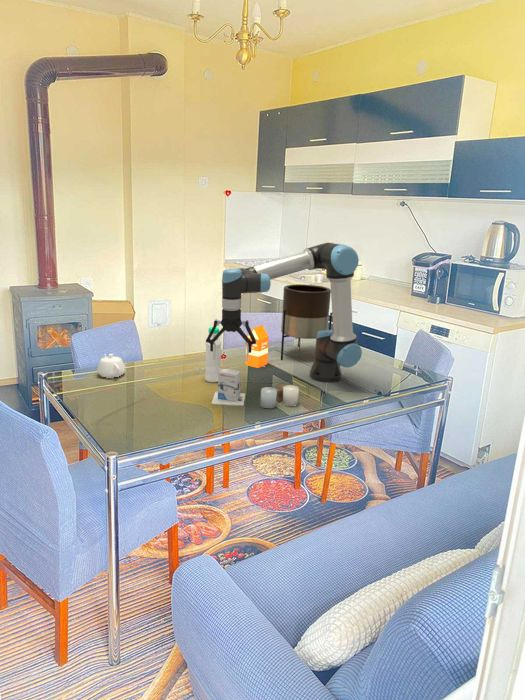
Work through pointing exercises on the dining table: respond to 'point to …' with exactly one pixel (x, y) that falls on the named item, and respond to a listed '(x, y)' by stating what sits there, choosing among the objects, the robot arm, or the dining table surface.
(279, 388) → the walnut block
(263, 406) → the domed pale cylinder
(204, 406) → the dining table surface
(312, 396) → the dining table surface
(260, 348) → the orange juice
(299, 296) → the planter
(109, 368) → the teapot
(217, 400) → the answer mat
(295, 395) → the cream rounded-top cylinder
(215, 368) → the water bottle
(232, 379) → the ink box
